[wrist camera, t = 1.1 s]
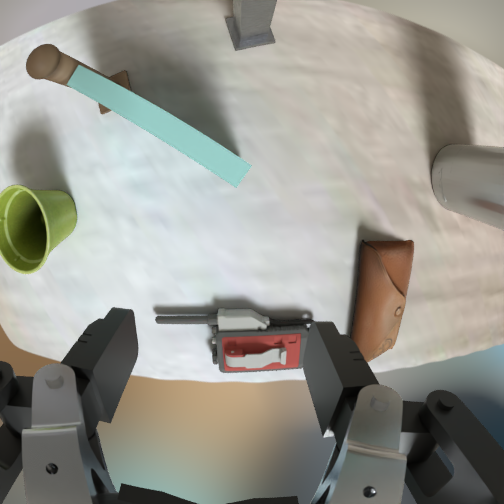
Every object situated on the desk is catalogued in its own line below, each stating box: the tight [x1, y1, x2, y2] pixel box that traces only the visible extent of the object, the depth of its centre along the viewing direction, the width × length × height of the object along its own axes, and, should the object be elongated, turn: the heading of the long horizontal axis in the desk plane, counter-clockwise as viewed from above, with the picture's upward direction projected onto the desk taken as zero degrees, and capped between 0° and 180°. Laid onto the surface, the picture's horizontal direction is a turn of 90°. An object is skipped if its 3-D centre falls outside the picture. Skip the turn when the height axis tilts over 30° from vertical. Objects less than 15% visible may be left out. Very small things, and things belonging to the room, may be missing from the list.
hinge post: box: [26, 44, 131, 114], centre depth 19 cm, size 4×4×16 cm
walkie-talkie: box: [155, 308, 314, 373], centre depth 35 cm, size 9×4×20 cm
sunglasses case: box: [350, 240, 414, 362], centre depth 35 cm, size 18×7×7 cm, turn 3°
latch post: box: [226, 0, 277, 51], centre depth 19 cm, size 4×4×13 cm
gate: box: [67, 65, 252, 188], centre depth 22 cm, size 16×2×11 cm, turn 55°
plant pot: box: [0, 185, 77, 274], centre depth 26 cm, size 9×9×9 cm
